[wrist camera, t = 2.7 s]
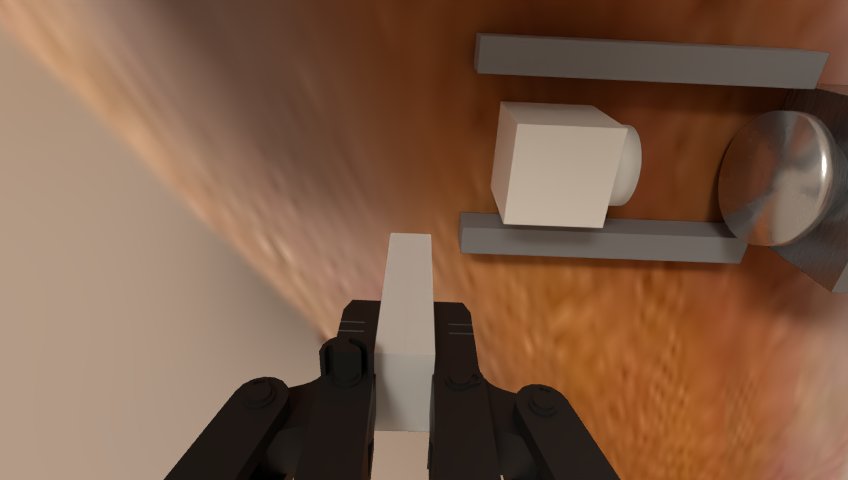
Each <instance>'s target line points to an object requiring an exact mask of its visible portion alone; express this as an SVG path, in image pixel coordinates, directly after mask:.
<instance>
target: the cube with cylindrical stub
mask: <svg viewBox="0 0 848 480" xmlns="http://www.w3.org/2000/svg"><path fill="white" fill-rule="evenodd" d="M641 160H642V151H641V143H640V138H639V135H638V133H637V131H636V130H635V128H634V127H633V126H631V125H621V124H620V123H618V122H617V121H615V120H614V119H612V118H611V117H609V116H608V115H606V114H605V113H603V112H601V111H600V110H598V109H597V108H595V107H594V106H592V105H573V104H551V103H529V102H508V101H501V105H500V113H499V121H498V130H497V138H496V146H495V155H494V163H493V171H492V179H491V190H492V193H493V196H494V199H495V201H496V204H497V207H498V210H499V213H500V216H501V218H502V221H503V224H517V225H542V226H567V227H593V228H603V224H604V221H605V217H606V213H607V209H608V206H622V205H624V204H625V203H626V202H627V201H628V200H629V199H630V198H631V196H632V195H633V193H634V191H635V188H636V186H637V183H638V179H639V175H640V170H641Z"/></svg>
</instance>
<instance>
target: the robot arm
mask: <svg viewBox="0 0 848 480" xmlns="http://www.w3.org/2000/svg"><path fill="white" fill-rule="evenodd" d="M319 355H320V369H321V376H320V377H319V378H318V379H316V380H314V381H312V382H310V383H306V384H303V385H299V386H294V387H290V388H288V387H287V385H286V384H285V383H284V382H283V381H282V380H279V379H277V378H273V377H262V378H256V379H253V380H251V381H249V382H247V383H244V384H243V385H242V386H241V387H240V388H239V389H237V390H236V391H235V392H234V394H233V395H232V396H231V397H230V398H229V400H228V401H227V402H226V404H225V405H224V406H223V407H222V408H221V410H220V411H219V412H218V413H217V415H216V416H215V417H214V418H213V420H212V421H211V422H210V423H209V424H208V426H207V427H206V428H205V429H204V431H203V432H202V433H201V434H200V435H199V437H198V438H197V439H196V441H195V442H194V443H193V444H192V445H191V447H190V448H189V449H188V450H187V452H186V453H185V454H184V455H183V456H182V458H181V459H180V460H179V461H178V463H177V464H176V465H175V466H174V468H173V469H172V470H171V471H170V472H169V474H168V475H167V476H166V478H165V479H164V480H293V478H294V480H370V479H371V469H372V461H373V451H374V428H375V430H377V431H411V432H430V437H429V450H428V464H427V469H429V480H501V476H500V475H503V478H504V480H620V478H619V477H618V475H617V474H616V472H615V471H614V469H613V468H612V466H611V465H610V463H609V462H608V460H607V459H606V457H605V456H604V454H603V453H602V451H601V450H600V448H599V447H598V445H597V444H596V442H595V441H594V439H593V438H592V436H591V435H590V433H589V432H588V430H587V429H586V427H585V426H584V424H583V423H582V421H581V420H580V418H579V417H578V415H577V414H576V412H575V411H574V409H573V408H572V406H571V405H570V403H569V402H568V400H567V399H566V398H565V397H564V396H563V395H562V394H561V393H560V392H558V391H557V390H555V389H553V388H551V387H548V386H545V385H541V384H531V385H528V386H525V387H522V388H521V389H520V390H519V391H518V392H517V394H516V393H512V392H509V391H505V390H502V389H500V388H497V387H495V386H494V385H492V384H490V383H489V382H488V381H487V380H486V379H485V378H484V377H483V375H482V373H481V372H480V370H479V366H478V359H477V353H476V346H475V340H474V335H473V327H472V320H471V313H470V312H469V310H468V309H467V308H466V307H465V305H464V304H463V303H455V302H433V277H432V249H431V234H409V233H391V234H390V241H389V249H388V256H387V263H386V270H385V278H384V285H383V292H382V299H381V301H370V300H352V301H351V302H350V303H349V304H348V305H347V306H346V307H345V308H344V310H343V314H342V318H341V322H340V326H339V331H338V334H337V337H334V338H332V339H330V340H328V341H327V342H326V343H324V344H323V345H322V347H321V349H320V351H319Z"/></svg>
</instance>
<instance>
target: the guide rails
mask: <svg viewBox="0 0 848 480" xmlns="http://www.w3.org/2000/svg"><path fill="white" fill-rule="evenodd" d="M829 54H830V53H826V52H819V51H812V50H805V49H796V48H776V47H756V46H736V45H716V44H696V43H676V42H656V41H636V40H615V39H595V38H575V37H555V36H535V35H515V34H495V33H476V44H475V55H474V66H473V68H474V69H475V70H476V72H477V73H483V74H504V75H525V76H546V77H567V78H588V79H609V80H629V81H650V82H671V83H692V84H713V85H734V86H755V87H776V88H797V89H815V87H816V84H817V82H818V80H819V77H820V75H821V73H822V70H823V68H824V66H825V63H826V61H827V59H828V56H829ZM458 239H459V246H460V253H477V254H504V255H530V256H556V257H582V258H608V259H634V260H661V261H687V262H713V263H739V264H740V263H741V260H742V258H743V256H744V253H745V251H746V248H747V246H748V243H746V242H743V241H742V240H740V239H739V238H737V237H736V236H735V235H734V234H733V233H732V232H731V230H730V229H729V228H728V226H727V225H726V223H716V222H692V221H667V220H642V219H617V218H605V221H604V224H603V228H593V227H567V226H542V225H517V224H503V221H502V218H501V216H500V214H493V213H468V212H460V221H459V232H458Z"/></svg>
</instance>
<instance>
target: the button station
mask: <svg viewBox="0 0 848 480" xmlns="http://www.w3.org/2000/svg"><path fill="white" fill-rule="evenodd" d="M718 198H719V205H720V210H721V213H722V216H723V219H724V221H725V223H726V225H727V226H728V228H729V229H730V230H731V232H732V233H733V234H734V235H735V236H736V237H737V238H739V239H740V240H742V241H743V242H746V243H748V244H752V245H760V246H768V247H769V248H771V249H772V250H774V251H775V252H776V253H778V254H779V255H780V256H782V257H783V258H785V259H786V260H787V261H789V262H790V263H791V264H793V265H794V266H796V267H797V268H798V269H800V270H801V271H802V272H804V273H805V274H807V275H808V276H809V277H811V278H812V279H813V280H815V281H816V282H818V283H819V284H820V285H822V286H823V287H825V288H826V289H827V290H829V291H830V292H835V293H848V85H831V84H816V87H815V89H797V88H790V91H789V93H788V96H787V98H786V100H785V103H784V105H783V108H782V110H781V111H778V110H776V111H769V112H766V113H763V114H761V115H759V116H757V117H755V118H754V119H752V120H751V121H750V122H748V123H747V124H746V125H745V126H744V127H743V128H742V129H741V130H740V131H739V132H738V134H737V135H736V136H735V138H734V139H733V141H732V142H731V144H730V146H729V148H728V150H727V152H726V154H725V157H724V159H723V162H722V166H721V170H720V175H719V182H718Z"/></svg>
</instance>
